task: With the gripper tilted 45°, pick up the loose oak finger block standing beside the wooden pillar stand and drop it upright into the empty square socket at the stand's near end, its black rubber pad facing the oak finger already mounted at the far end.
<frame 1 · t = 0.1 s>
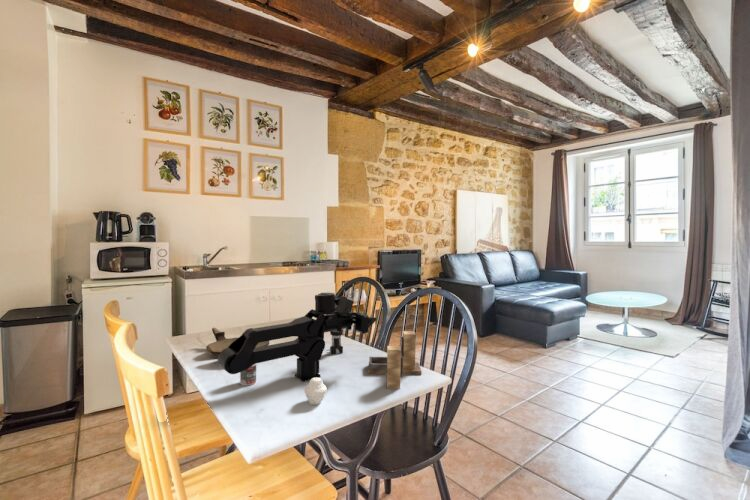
hand: (368, 316, 132), 17 cm above the table, tool horizontal, fingers open, 9 cm apart
pill bottle: (248, 383, 111), on the table
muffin: (315, 402, 99), on the table
oil lamp: (237, 354, 138), on the table
oak finger: (393, 385, 111), on the table
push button: (334, 353, 140), on the table
wooden pillar stand: (394, 369, 124), on the table
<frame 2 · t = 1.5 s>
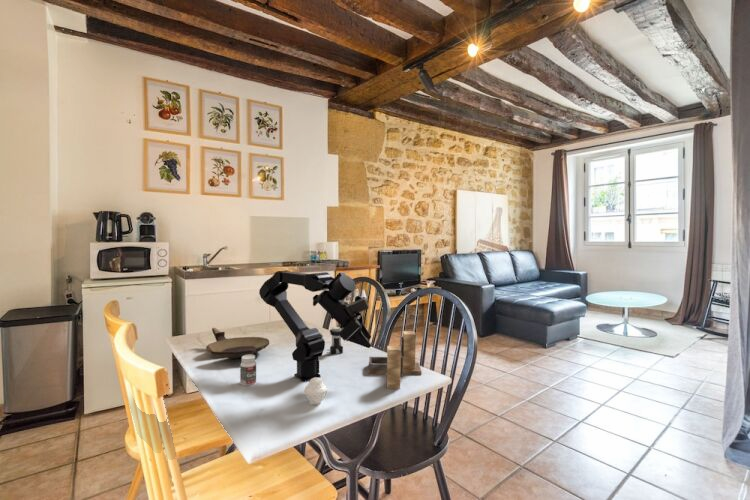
hand: (370, 342, 110), 14 cm above the table, tool tilted 45°, fingers open, 9 cm apart
nothing on the table moved.
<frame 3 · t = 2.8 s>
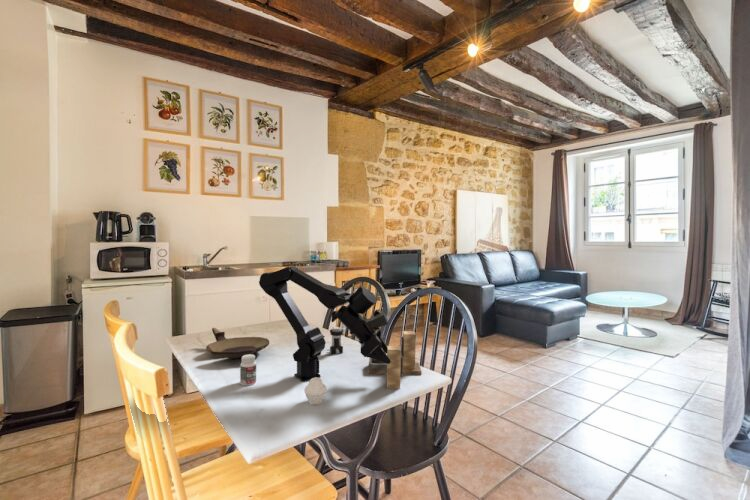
hand: (389, 357, 110), 9 cm above the table, tool tilted 45°, fingers open, 9 cm apart
nothing on the table moved.
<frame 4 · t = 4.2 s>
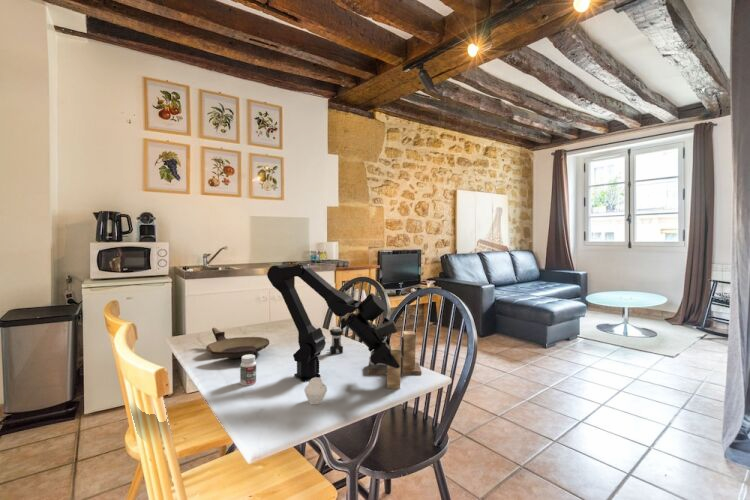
hand: (398, 364, 111), 7 cm above the table, tool tilted 45°, fingers closed on oak finger, 4 cm apart
oak finger: (393, 385, 111), on the table, touching gripper
everything else where it was.
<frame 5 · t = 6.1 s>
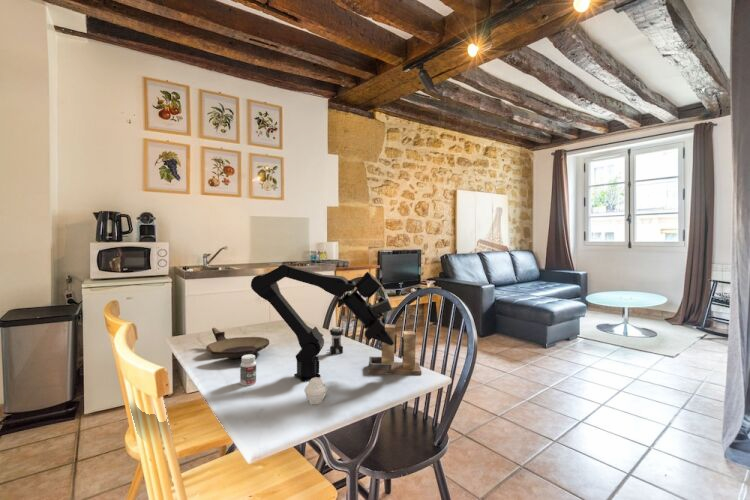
hand: (392, 342, 115), 12 cm above the table, tool tilted 45°, fingers closed on oak finger, 4 cm apart
oak finger: (387, 362, 115), point 6 cm above the table, touching gripper
everything else where it was.
when the fingers open (9 cm above the table, at t = 7.9 s): oak finger drops 1 cm, resting on wooden pillar stand.
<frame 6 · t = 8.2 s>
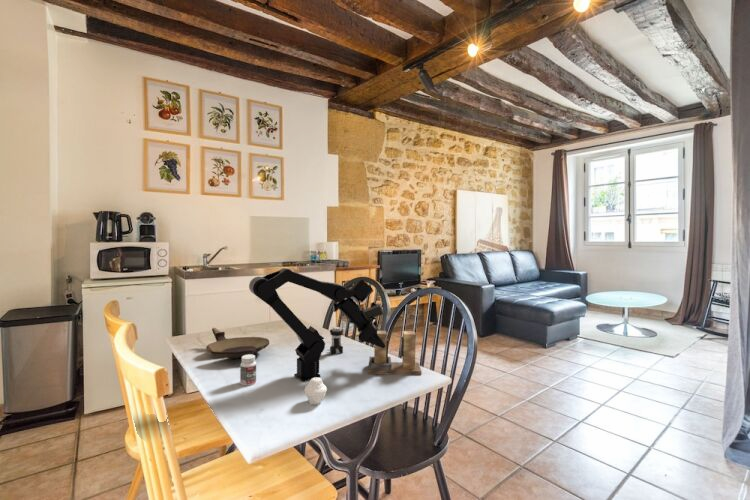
hand: (384, 344, 123), 9 cm above the table, tool tilted 45°, fingers open, 7 cm apart
oak finger: (379, 366, 124), point 1 cm above the table, touching wooden pillar stand
everything else where it was.
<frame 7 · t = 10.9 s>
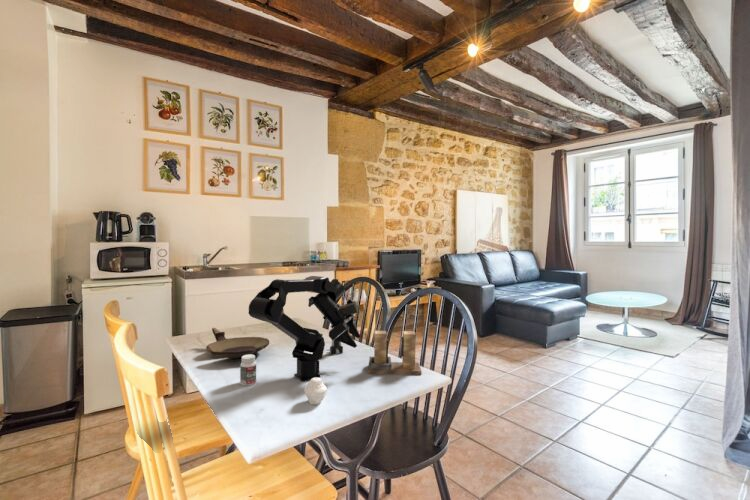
hand: (357, 341, 123), 10 cm above the table, tool tilted 40°, fingers open, 9 cm apart
nothing on the table moved.
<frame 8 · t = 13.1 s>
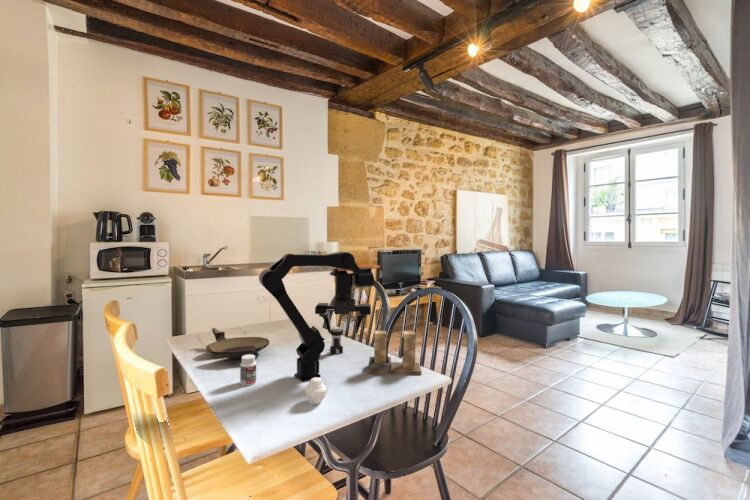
hand: (343, 333, 122), 13 cm above the table, tool pointing down, fingers open, 9 cm apart
nothing on the table moved.
at the end: oak finger 0.1 cm from the target spot on the wooden pillar stand, point 1.2 cm above the wooden pillar stand's base; oak finger tilted 0°; the gripper is holding nothing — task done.
